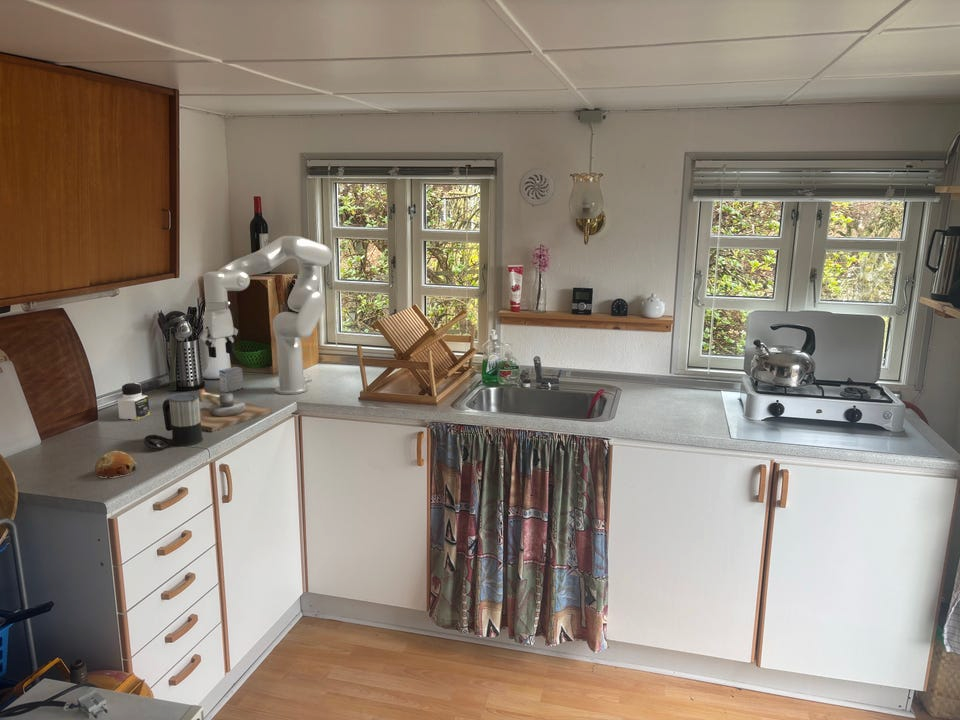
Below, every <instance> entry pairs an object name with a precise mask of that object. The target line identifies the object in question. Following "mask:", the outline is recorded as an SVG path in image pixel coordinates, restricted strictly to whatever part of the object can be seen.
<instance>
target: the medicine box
mask: <svg viewBox="0 0 960 720" xmlns="http://www.w3.org/2000/svg"><path fill="white" fill-rule="evenodd" d="M218 374H219V384H220V385H219V387H220V391H221V392H223V391H225V392H224V393H226V392H228V393H230V392H229V391H231V392H234V391H233V390H235V391H238V390H237V389H239V390H242V389H241V388H243V389H244V379H243V378H244V376H243V368H241V367H238V366H233V367H228V368H224V369H220V370H218Z"/></svg>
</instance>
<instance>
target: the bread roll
mask: <svg viewBox="0 0 960 720" xmlns="http://www.w3.org/2000/svg"><path fill="white" fill-rule="evenodd" d="M137 465H138V463H137V462H136V461H135V459H134V458H133V457H132V456H131V455H130V454H128V453H126V452H124V451H119V450H113V451H109V452H106V453H105V454H104V455H102V456H101V457H100V458H99V459H98V460H97V461H96V463H95V466H94V473H95V476H97V477H98V476H102V477H106V476H107V477H114V476H120V475H126V474H128V473H131V472H133V471H134V472H135V471H136V467H137ZM134 472H133V473H134ZM131 474H132V473H131Z"/></svg>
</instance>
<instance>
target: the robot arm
mask: <svg viewBox="0 0 960 720" xmlns="http://www.w3.org/2000/svg"><path fill="white" fill-rule="evenodd" d="M289 259H295V260H296V262H297V265H298V268H299V269H298V270H299V274H298V277H297V280H296V282H295V284H294V285H293V287H292V289H291V291H290V293H289V296H288V299H287V305H288V308H289V309H290V310H292V311H294V312H291V311H281V312H279V313H278V314H276V315H275V316H274V318H273V322H272V330H273V334H274V338H275V343H276V355H277V369H278V383H279V386H277V387H275V392H276V394H279V395H296V394H302V393H305V392H307V391H308V390H309V385H307V383H310V382H312V381H313V378H312V377H311V376H309V377H304V366H303V364H304V363H303V347H302V342H301V339H302V340H303V339H307V338H309V337H310V336H311V335H312V334H313V332H314V331H315V329H316V327H317V324H318V322H319V320H320V318H321V316H322V314H323V311H324V309H325V305H326V303H325V302H326V301H325V296H324V295H323V293H322V292H321V291H319V290H318V287H319V285H320V282H321V274H320V269H319V267H326V266H328V265H329V264H330V263H331V262H332V260H333V254H332V250H331V249H330V248H329V246H327V245H326V244H322V243H320V242H317V241H314V240H311V239H308V238H306V237H304V236H298V235H283V236H280V237H278V238H276V239H275V240H273V241H272V242H270V243H269V244H267V245H264V246H263V247H262V248H260V249H259V250H256V251H255V252H252V253H249V254H247V255H245V256H241V257H239V258H237V259H235V260H233V261H231V262H229V263H227V264H225V265H224V266H223V267H221V268H219V270H217V271H207V272H205V273H203V286H204V287H203V288H204V289H203V290H204V300H205V309H206V310H205V311H204V312H203V320H202V326H203V329H202V331H203V333H202V334H201V335H200V337H199V339H200V340H201V341H202V342H203V343H204V345H206V347H207V349H208V350H207V351H208V357H210V358H217V347H216V346H215V345H216V344H215V343H216V341H217V340H219V339H223V338H224V339H225V341H226V342H225V343H224V344H225V352H226V354H231V355H233V354H234V342H235V339H236V338H237V335H238V333H239V330H238V329H237V328H236V327H234V322H233V317H232V316H233V315H232V312H231V310H230V308H229V306H230V305H231V302H230V301H228V299H229V298H228V292H229V291H230V292H232V291H233V292H241V291H244V290H246V289H247V288H248V287H249V286H250V284H251V283H250V282H251V279H250V276H252V275H259V274H264V273H268V272H271V271H272V270H273V269H275V268H277V267H278V266H280V265H281V264H283V263H285V262H286V261H287V260H289ZM296 312H298V313H296Z"/></svg>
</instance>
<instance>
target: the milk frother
mask: <svg viewBox="0 0 960 720" xmlns="http://www.w3.org/2000/svg"><path fill="white" fill-rule="evenodd" d="M199 396H200V395H199V394H198V393H194V392H182V393H177V394H173V395H170V396H168V398H166V399H165V400H164V401H163V403H162V412H163V419H164V425H165V427H164V428H165V430H166V431H167V432H171V436H172V438H171V439H170V438H167V437H164V436H161V435H158V434H149V435H146V436H145V437H144V439H143V444H144V446H145V447H146V448H148V449H150V450H153V449H154V450H153V451H155V450H163V449H167V448H168V446H169V441H170V442H171V444H173V445H174V446H178V447H179V446H181V447H182V446H192V445H197V444H199V442H200V443H201V442H203V441H204V437H203V433H202V431H203V430H201V421H200V409H201V408H200V407H201V405H200V401H199ZM160 441H161V442H162V443H163V444H162V445H160Z"/></svg>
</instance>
